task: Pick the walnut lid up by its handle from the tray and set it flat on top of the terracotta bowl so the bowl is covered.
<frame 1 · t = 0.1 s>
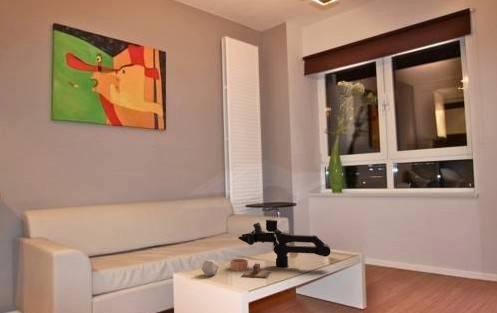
hand: (240, 236, 219), 17 cm above the table, tool horizontal, fingers open, 9 cm apart
bowl: (239, 269, 206), on the table
tray: (256, 275, 194), on the table
die: (210, 275, 194), on the table
lid: (256, 274, 194), point 1 cm above the table, touching tray
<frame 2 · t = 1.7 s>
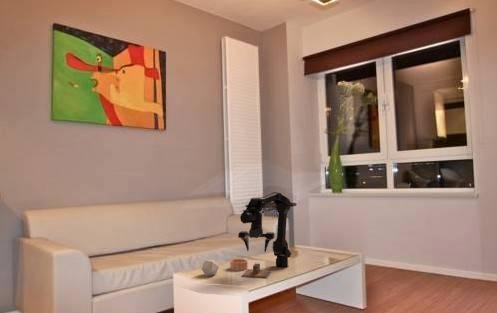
hand: (256, 251, 195), 12 cm above the table, tool pointing down, fingers open, 9 cm apart
nothing on the table moved.
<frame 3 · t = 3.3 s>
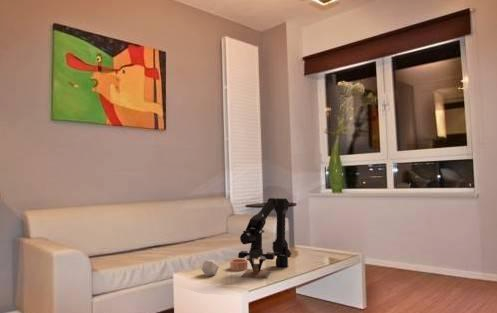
hand: (256, 271, 194), 2 cm above the table, tool pointing down, fingers closed on lid, 2 cm apart
lid: (256, 274, 194), point 1 cm above the table, touching gripper, tray
everything else where it was.
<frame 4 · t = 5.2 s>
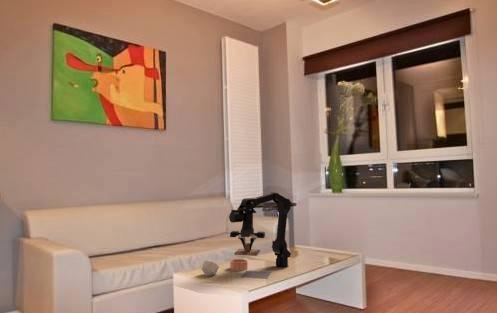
hand: (247, 250, 201), 12 cm above the table, tool pointing down, fingers closed on lid, 2 cm apart
lid: (247, 253, 200), point 11 cm above the table, touching gripper
everything else where it was.
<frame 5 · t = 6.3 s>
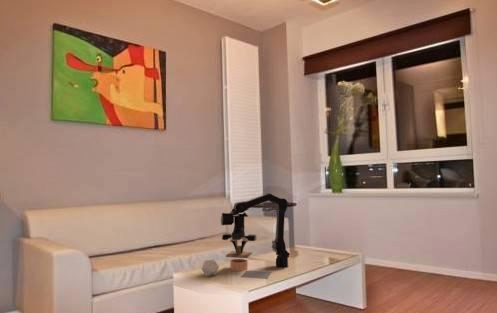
hand: (239, 252, 207), 9 cm above the table, tool pointing down, fingers closed on lid, 2 cm apart
lid: (239, 255, 207), point 8 cm above the table, touching gripper
everything else where it was.
when the fingers open (8 cm above the table, at t = 7.2 s): lid drops 1 cm, resting on bowl.
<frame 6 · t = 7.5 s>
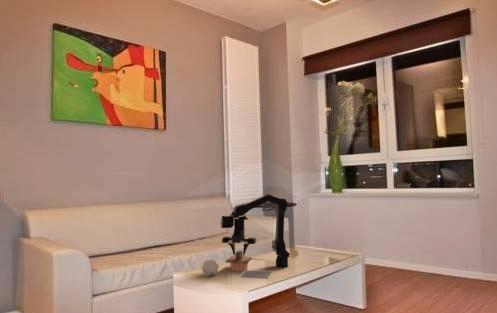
hand: (239, 255, 207), 8 cm above the table, tool pointing down, fingers open, 5 cm apart
lid: (239, 260, 206), point 5 cm above the table, touching bowl
everything else where it was.
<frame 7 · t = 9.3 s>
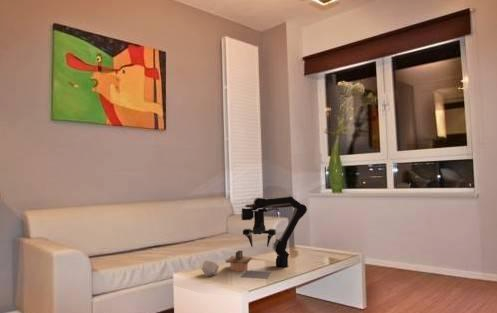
hand: (259, 247, 212), 12 cm above the table, tool pointing down, fingers open, 9 cm apart
nothing on the table moved.
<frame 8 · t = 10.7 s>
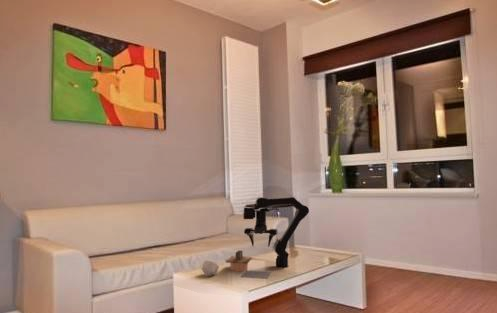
hand: (260, 246, 212), 12 cm above the table, tool pointing down, fingers open, 9 cm apart
nothing on the table moved.
at the end: lid 0.1 cm off-centre on the bowl, point 5.0 cm above the bowl's base; lid tilted 0°; the gripper is holding nothing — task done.
